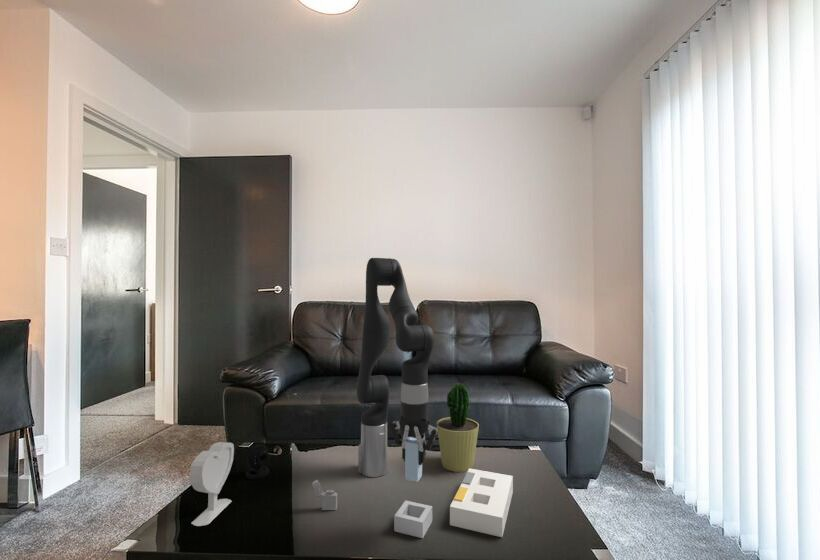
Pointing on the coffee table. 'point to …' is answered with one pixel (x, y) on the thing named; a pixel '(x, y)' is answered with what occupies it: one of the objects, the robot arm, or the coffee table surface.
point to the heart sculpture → (212, 478)
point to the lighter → (326, 497)
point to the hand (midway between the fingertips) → (413, 462)
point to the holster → (413, 519)
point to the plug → (412, 460)
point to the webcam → (257, 462)
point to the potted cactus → (457, 432)
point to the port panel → (482, 502)
